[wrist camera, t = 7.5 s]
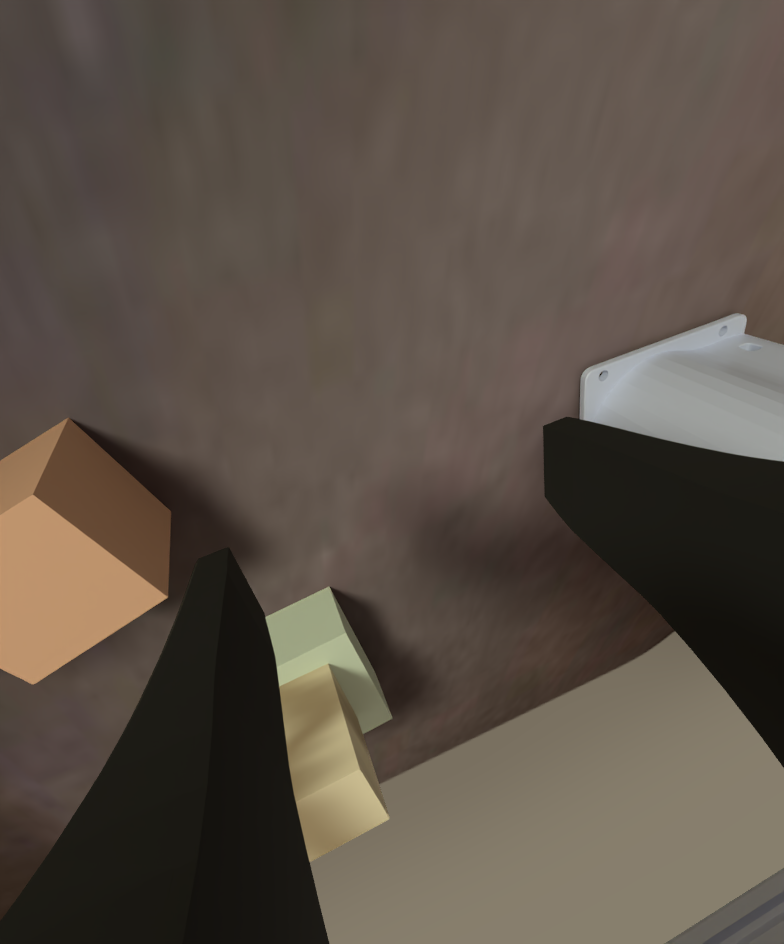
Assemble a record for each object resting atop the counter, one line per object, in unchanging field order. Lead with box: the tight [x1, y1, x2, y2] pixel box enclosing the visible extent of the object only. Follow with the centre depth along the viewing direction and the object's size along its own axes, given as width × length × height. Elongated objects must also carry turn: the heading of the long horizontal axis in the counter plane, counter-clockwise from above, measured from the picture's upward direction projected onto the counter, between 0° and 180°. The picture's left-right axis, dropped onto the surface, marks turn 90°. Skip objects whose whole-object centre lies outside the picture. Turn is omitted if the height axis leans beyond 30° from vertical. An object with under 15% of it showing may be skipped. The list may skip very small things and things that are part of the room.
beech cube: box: [279, 664, 390, 862], centre depth 22 cm, size 5×5×5 cm
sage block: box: [265, 587, 392, 734], centre depth 25 cm, size 8×8×4 cm
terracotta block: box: [0, 418, 171, 684], centre depth 16 cm, size 5×5×5 cm
